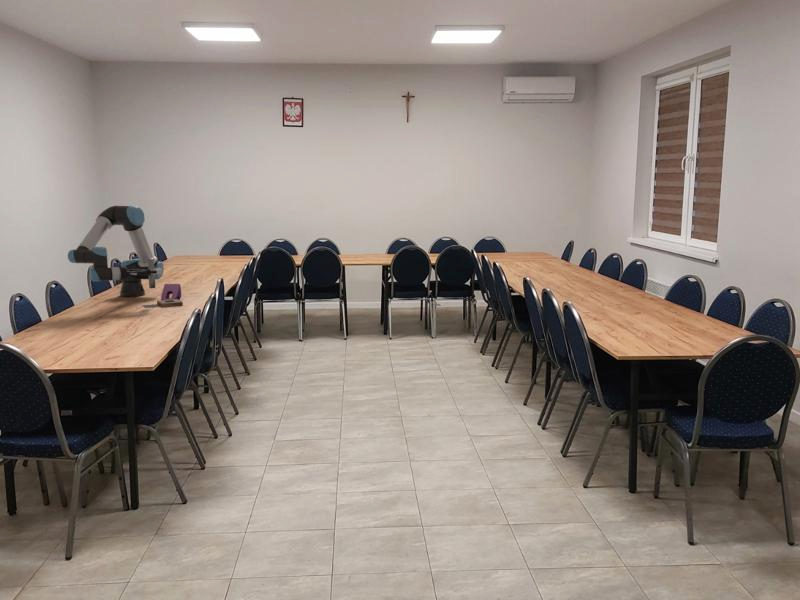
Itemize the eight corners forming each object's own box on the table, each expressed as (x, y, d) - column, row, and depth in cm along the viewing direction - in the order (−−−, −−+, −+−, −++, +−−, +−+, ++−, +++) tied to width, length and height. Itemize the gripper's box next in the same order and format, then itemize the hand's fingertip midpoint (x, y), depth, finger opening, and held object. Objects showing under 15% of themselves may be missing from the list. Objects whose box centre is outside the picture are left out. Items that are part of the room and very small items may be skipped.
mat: (141, 306, 430) (141, 305, 430) (155, 304, 435) (155, 304, 435) (145, 308, 422) (145, 308, 422) (159, 307, 426) (159, 306, 426)
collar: (157, 304, 435) (157, 300, 435) (177, 303, 441) (177, 299, 441) (162, 307, 425) (161, 303, 425) (182, 306, 431) (182, 301, 431)
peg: (148, 287, 427) (147, 258, 425) (154, 287, 429) (153, 258, 426) (150, 288, 425) (148, 259, 422) (156, 288, 426) (154, 259, 423)
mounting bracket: (177, 311, 447) (181, 294, 461) (175, 300, 442) (180, 283, 456) (161, 311, 446) (166, 294, 460) (159, 300, 441) (164, 283, 455)
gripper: (117, 278, 424) (158, 275, 436) (122, 281, 410) (164, 279, 422) (116, 265, 422) (157, 263, 434) (121, 268, 409) (164, 266, 420)
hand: (161, 271), depth 428 cm, fingers closed on peg, 3 cm apart
